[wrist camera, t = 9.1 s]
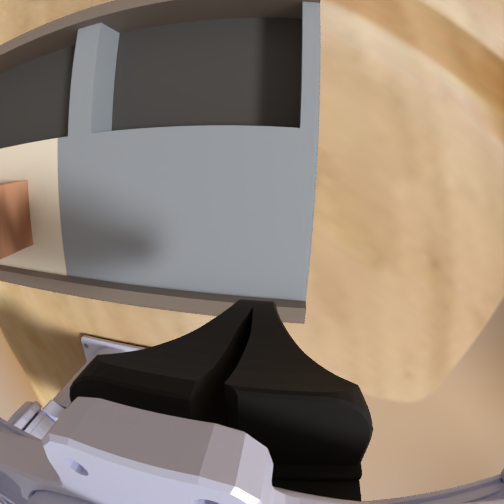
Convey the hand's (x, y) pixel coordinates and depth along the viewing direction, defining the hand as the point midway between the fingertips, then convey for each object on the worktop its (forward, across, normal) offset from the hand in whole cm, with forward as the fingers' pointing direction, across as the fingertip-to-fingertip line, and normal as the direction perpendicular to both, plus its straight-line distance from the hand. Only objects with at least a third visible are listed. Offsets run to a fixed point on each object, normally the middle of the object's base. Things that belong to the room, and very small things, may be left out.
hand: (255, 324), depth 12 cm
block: (+7, +21, -2) cm, 22 cm away
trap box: (+10, +13, -7) cm, 18 cm away
